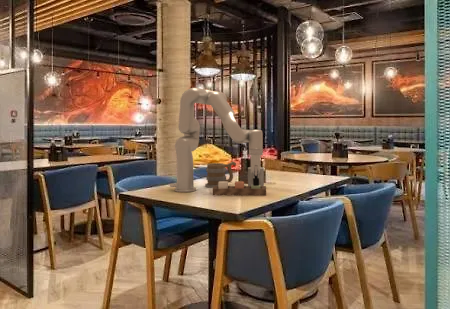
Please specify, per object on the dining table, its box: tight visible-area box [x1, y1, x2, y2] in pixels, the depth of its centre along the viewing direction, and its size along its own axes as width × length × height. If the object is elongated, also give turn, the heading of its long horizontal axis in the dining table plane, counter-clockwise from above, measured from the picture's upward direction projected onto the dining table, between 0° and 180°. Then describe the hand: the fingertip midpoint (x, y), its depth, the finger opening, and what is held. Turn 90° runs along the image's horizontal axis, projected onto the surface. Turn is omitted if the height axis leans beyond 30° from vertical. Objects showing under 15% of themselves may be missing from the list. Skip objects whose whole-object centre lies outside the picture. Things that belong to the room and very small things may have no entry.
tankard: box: [204, 161, 237, 189], centre depth 253 cm, size 20×13×15 cm, turn 112°
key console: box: [211, 185, 267, 196], centre depth 227 cm, size 29×10×4 cm, turn 86°
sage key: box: [251, 185, 260, 189], centre depth 226 cm, size 5×5×4 cm
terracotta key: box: [234, 180, 245, 189], centre depth 227 cm, size 5×5×4 cm
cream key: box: [218, 181, 229, 188], centre depth 227 cm, size 5×5×4 cm
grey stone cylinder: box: [247, 166, 265, 186], centre depth 244 cm, size 10×10×12 cm
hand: (256, 185), depth 226 cm, fingers closed
